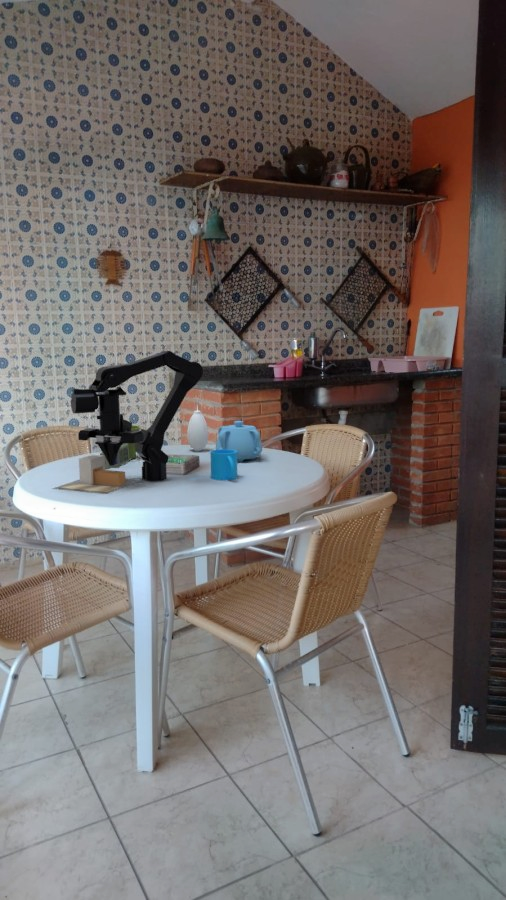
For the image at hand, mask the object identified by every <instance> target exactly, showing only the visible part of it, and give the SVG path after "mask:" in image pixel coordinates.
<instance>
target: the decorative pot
mask: <svg viewBox="0 0 506 900" xmlns="http://www.w3.org/2000/svg"><path fill="white" fill-rule="evenodd" d="M217 430H218V433H217V434H218V436H217V438H216V442H215V450H219V449H230V450H236V451H237V463H244V460H256V458H257V457H260V456H261V453H262V451H263V443H262V440H261V434H260V432H259V430H258V429H257V427H256V426H254V425H250V424H249V425H247V424H244V420H234V421H233V424H229V425H222V426H220V427H219V428H218V429H217Z"/></svg>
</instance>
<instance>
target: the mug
mask: <svg viewBox="0 0 506 900" xmlns="http://www.w3.org/2000/svg"><path fill="white" fill-rule="evenodd" d="M210 478H211V480H216V481H232V480H236V479H237V478H238V462H237V451H236V450H230V449H219V450H216V449H212V450H210Z"/></svg>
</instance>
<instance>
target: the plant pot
mask: <svg viewBox="0 0 506 900" xmlns="http://www.w3.org/2000/svg"><path fill="white" fill-rule="evenodd" d="M140 429H141V426H139V425H136V424H135V425H134V424H132V429H131V431H140ZM110 440H112V439H110ZM123 444H124V443H123ZM128 446H129V458H130V460H133V459H135V458H136V455H137V452H136V450H135V443H128Z"/></svg>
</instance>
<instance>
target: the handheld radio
mask: <svg viewBox="0 0 506 900" xmlns="http://www.w3.org/2000/svg"><path fill="white" fill-rule="evenodd" d="M99 455H104V453H103V452H102V451H101V452H100V453H99ZM128 461H129V462H130V461H131V459H130V458H129V446H128V443H124V444H122V445H121V447H120V449H119V451H118V454H117V457H116V461H115V464H114V465H113V466H112V465H109V463H108V461H107V459H106V457H105V470H110V469H112V468H113V469H117V468H119V467H121V466H122V465H125V464H127V463H129V462H128ZM126 462H127V463H126Z"/></svg>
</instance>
